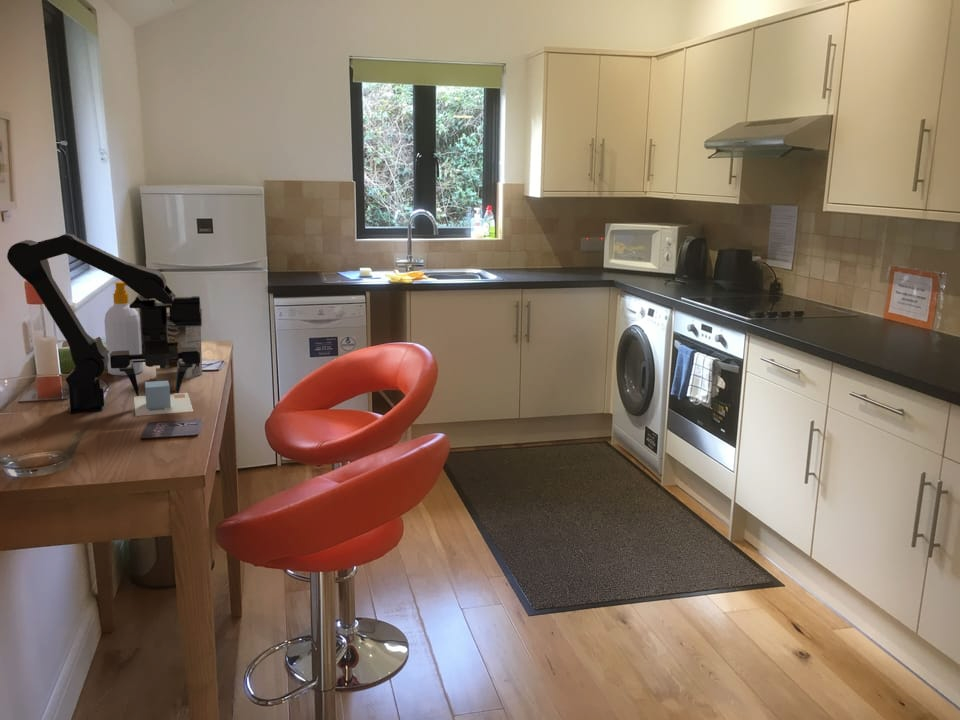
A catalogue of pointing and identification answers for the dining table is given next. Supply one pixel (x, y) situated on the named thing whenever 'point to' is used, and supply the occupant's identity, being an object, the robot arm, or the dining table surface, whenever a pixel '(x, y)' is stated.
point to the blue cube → (157, 394)
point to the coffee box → (185, 345)
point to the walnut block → (167, 376)
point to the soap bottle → (122, 329)
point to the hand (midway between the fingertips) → (157, 394)
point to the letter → (178, 404)
